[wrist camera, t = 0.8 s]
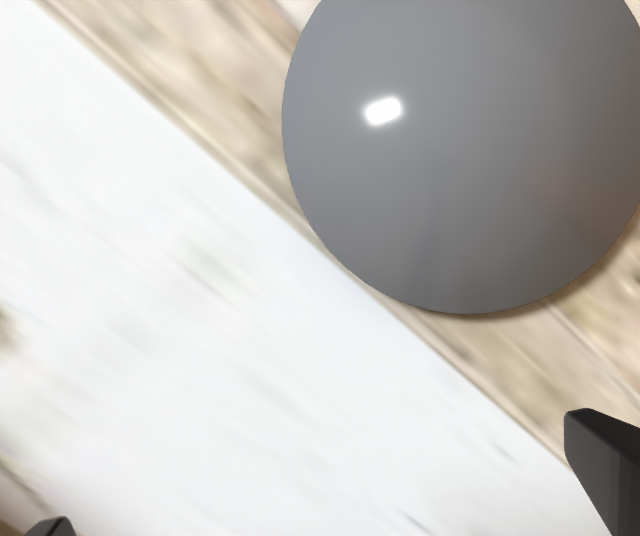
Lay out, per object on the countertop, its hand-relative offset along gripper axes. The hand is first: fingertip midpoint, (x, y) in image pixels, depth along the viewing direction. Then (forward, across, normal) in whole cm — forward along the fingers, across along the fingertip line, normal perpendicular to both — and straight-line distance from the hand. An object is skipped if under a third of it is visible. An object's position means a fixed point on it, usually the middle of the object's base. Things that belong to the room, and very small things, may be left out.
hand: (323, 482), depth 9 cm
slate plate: (+17, -10, -4) cm, 20 cm away
